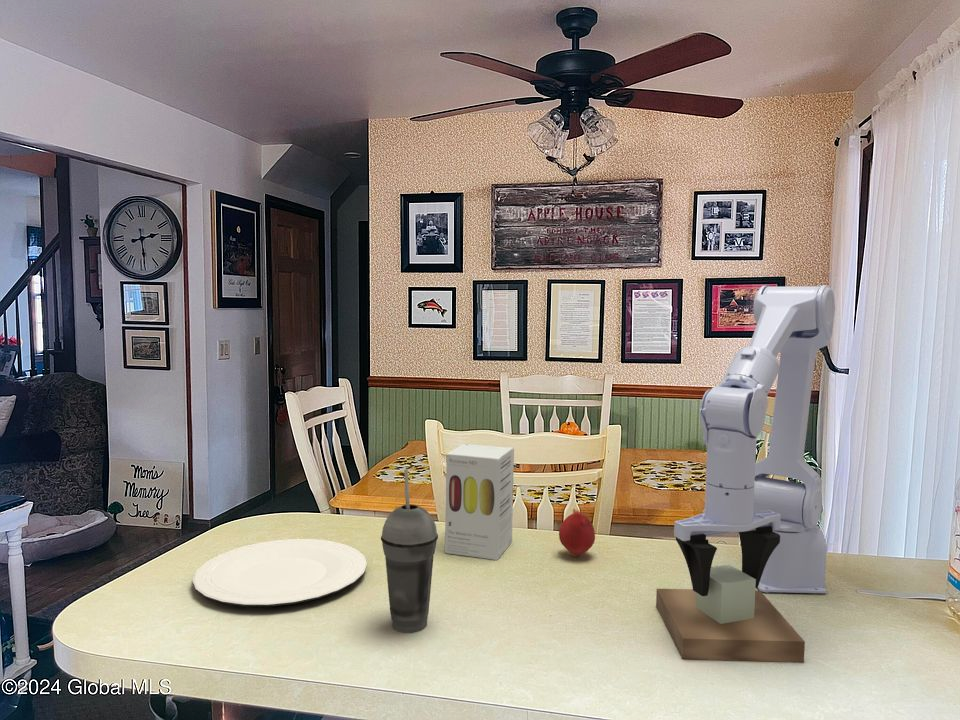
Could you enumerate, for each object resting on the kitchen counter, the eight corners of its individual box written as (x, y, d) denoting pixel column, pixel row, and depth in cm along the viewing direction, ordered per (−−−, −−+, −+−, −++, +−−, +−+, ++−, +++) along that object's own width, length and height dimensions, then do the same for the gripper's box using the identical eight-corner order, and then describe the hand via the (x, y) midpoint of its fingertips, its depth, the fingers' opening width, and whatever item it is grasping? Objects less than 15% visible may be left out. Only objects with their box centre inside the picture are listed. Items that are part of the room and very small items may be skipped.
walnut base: (759, 608, 94) (760, 590, 94) (803, 662, 80) (804, 641, 80) (656, 606, 95) (656, 588, 94) (682, 658, 81) (683, 638, 80)
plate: (152, 597, 97) (152, 584, 96) (270, 541, 120) (269, 530, 120) (300, 631, 87) (300, 616, 87) (396, 562, 110) (396, 551, 110)
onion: (593, 550, 115) (594, 504, 115) (595, 563, 110) (596, 514, 109) (558, 549, 116) (559, 502, 115) (558, 562, 110) (559, 513, 110)
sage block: (727, 601, 90) (728, 564, 90) (754, 618, 86) (755, 579, 85) (695, 606, 89) (696, 569, 88) (720, 624, 84) (722, 584, 84)
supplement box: (443, 553, 113) (443, 453, 112) (461, 535, 122) (462, 442, 121) (499, 561, 111) (500, 457, 109) (513, 542, 119) (515, 446, 118)
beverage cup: (392, 643, 84) (392, 481, 82) (373, 618, 90) (372, 468, 89) (447, 630, 87) (447, 475, 86) (424, 607, 94) (424, 462, 92)
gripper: (755, 471, 92) (750, 570, 93) (661, 479, 87) (657, 583, 88) (794, 484, 85) (789, 591, 86) (695, 494, 81) (691, 606, 82)
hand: (725, 589), depth 87 cm, fingers open, 7 cm apart
